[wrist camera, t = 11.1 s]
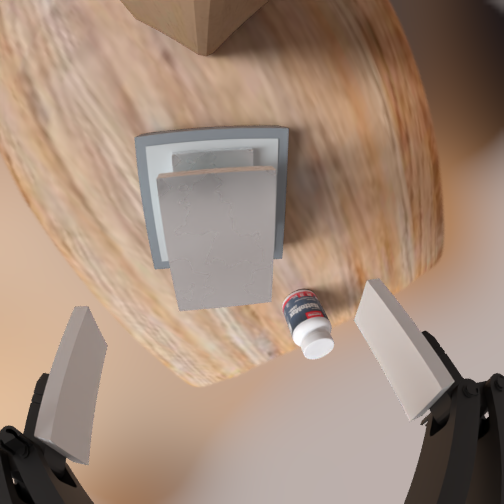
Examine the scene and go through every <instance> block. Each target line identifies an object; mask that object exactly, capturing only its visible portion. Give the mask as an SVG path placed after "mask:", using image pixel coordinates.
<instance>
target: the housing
mask: <svg viewBox="0 0 504 504" xmlns="http://www.w3.org/2000/svg"><path fill="white" fill-rule="evenodd" d="M172 167H173V172H170V173H161V174H159V175H158V177H157V178H156V182H157V190H158V197H159V205H160V212H161V218H162V225H163V231H164V237H165V243H166V248H167V254H168V259H169V265H170V270H171V275H172V280H173V285H174V289H175V294H176V298H177V303H178V307H179V311H186V310H198V309H210V308H220V307H230V306H240V305H249V304H257V303H266V302H271V298H272V278H273V255H274V230H275V200H276V169H275V168H274V167H272V166H253V149H252V148H251V147H241V148H221V149H206V150H194V151H183V152H174V153H172Z"/></svg>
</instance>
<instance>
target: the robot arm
mask: <svg viewBox="0 0 504 504" xmlns="http://www.w3.org/2000/svg"><path fill="white" fill-rule="evenodd" d="M354 321H355V323H356V324H357V325H358V328H359V329H360V331H361V333H362V335H363V336H364V338H365V340H366V341H367V343H368V345H369V347H370V349H371V350H372V352H373V354H374V355H375V357H376V359H377V361H378V363H379V364H380V366H381V368H382V370H383V372H384V374H385V375H386V377H387V379H388V381H389V383H390V385H391V386H392V388H393V390H394V392H395V394H396V396H397V398H398V400H399V401H400V403H401V405H402V407H403V409H404V411H405V413H406V415H407V417H408V419H409V421H412V420H414V419H416V418H418V417H420V416H422V415H423V414H424V413H425V412H426V411H427V410H428V409H430V411H431V413H430V414H429V415H428V416H427V417H425V418H424V420H422V422H421V425H423V424H424V423H425V422H427V421H428V422H427V424H426V425H425V426H427V427H426V432H425V437H424V441H423V445H422V449H421V453H420V457H419V461H418V464H417V467H416V471H415V474H414V477H413V480H412V483H411V486H410V489H409V492H408V495H407V497H406V500H405V503H404V504H504V376H503V375H501V374H498V373H496V374H493V376H492V377H491V378H490V379H489V380H488V381H484V382H479V383H476V382H475V381H473V380H471V379H464V378H463V377H462V376H461V375H460V373H459V372H458V370H457V369H456V367H455V366H454V364H453V363H452V362H451V360H450V359H449V357H448V356H447V354H445V351H444V350H443V349H442V347H440V344H439V343H438V342H437V340H436V339H435V338H434V337H433V336H432V335H431V334H430V333H428V332H427V331H423V332H421V331H420V330H419V329H418V327H417V326H416V324H415V323H414V322H413V320H412V319H411V318H410V317H409V315H408V314H407V313H406V311H405V310H404V309H403V307H402V306H401V305H400V303H399V302H398V301H397V300H396V298H395V297H394V296H393V295H392V293H391V292H390V291H389V290H388V288H387V287H386V286H385V285H384V283H383V282H382V281H381V280H380V279H379V278H378V279H371V280H367V282H366V285H365V288H364V292H363V295H362V298H361V301H360V304H359V307H358V310H357V313H356V316H355V319H354ZM106 350H107V343H106V342H105V340H104V338H103V336H102V334H101V332H100V330H99V328H98V326H97V324H96V322H95V320H94V318H93V316H92V313H91V311H90V309H89V307H88V306H80V307H79V306H78V307H75V308H74V310H73V312H72V315H71V317H70V319H69V322H68V324H67V327H66V329H65V332H64V334H63V337H62V339H61V342H60V345H59V348H58V350H57V353H56V356H55V359H54V362H53V365H52V368H51V371H50V374H46V373H43V374H42V376H41V377H40V379H39V380H38V381H37V383H36V387H35V390H34V395H33V397H32V403H31V404H30V408H29V412H28V416H27V420H26V425H25V429H24V433H23V434H22V433H21V432H20V431H18V430H17V429H16V428H14V427H13V426H5V427H4V428H3V429H2V430H1V431H0V504H94V503H93V502H92V501H91V499H90V498H89V496H88V495H87V493H86V492H85V490H84V489H83V488H82V486H81V485H80V483H79V482H78V480H77V478H76V477H75V475H74V474H73V472H72V471H71V469H70V467H69V466H68V464H67V463H66V458H68V459H69V460H71V461H73V462H76V463H80V464H85V465H89V454H90V442H91V434H92V425H93V418H94V412H95V405H96V399H97V394H98V388H99V382H100V378H101V373H102V368H103V363H104V358H105V355H106ZM486 412H488V413H489V417H488V418H487V419H486V418H485V416H484V414H486ZM12 478H14V481H15V483H13V480H12Z"/></svg>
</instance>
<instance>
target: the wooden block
mask: <svg viewBox="0 0 504 504" xmlns="http://www.w3.org/2000/svg"><path fill="white" fill-rule="evenodd" d="M120 1H121V2H122V3H123V4H124V5H125V7H126V8H127V9H128V10H129V11H130V12H131V14H132V15H133V16H134V17H135V18H136V19H137V20H139V21H141V22H143V23H145V24H147V25H149V26H151V27H153V28H155V29H156V30H158V31H160V32H162V33H164V34H165V35H167V36H169V37H171V38H172V39H174V40H176V41H177V42H179V43H181V44H182V45H184V46H186V47H187V48H189V49H191V50H192V51H194V52H195V53H197V54H198V55H203V56H208V55H210V54H212V53H214V52H215V51H216V49H217V48H218V47H219V46H220V45H221V44H222V43H223V42H224V41H225V40H226V39H227V38H228V37H229V36H230V35H231V34H232V33H233V32H234V31H235V30H236V29H237V28H239V27H240V26H241V25H242V24H243V23H244V22H245V21H246V20H247V19H248V18H249V17H251V16H252V15H253V14H254V13H255V12H256V11H257V10H259V9H260V8H261V7H262V6H263V5H264V4H266V3H267V2H268V0H120Z"/></svg>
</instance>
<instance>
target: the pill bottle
mask: <svg viewBox="0 0 504 504" xmlns="http://www.w3.org/2000/svg"><path fill="white" fill-rule="evenodd" d="M282 310H283V313H284V316H285V318H286V321H287V324H288V327H289V329H290V332H291V335H292V338H293V340H294V342H295V343H296V344H297V345H298V346H300V347H301V349H302V351H303V354H304V356H305V357H306V358H308V359H318V358H321V357H323V356H325V355H327V354H328V353H329V352H330V351H331V350H332V349H333V347H334V341H333V339H332V337H331V335H330V333H331V329H332V327H331V323H330V321H329V319H328V317H327V315H326V313H325V311H324V309H323V308H322V306H321V304H320V302H319V300H318V298H317V296H316V295H315V293H313V292H312V291H310V290H298V291H295V292H293V293H291V294H290V295H289V296H287V297H286V299H285V300H284V302H283V305H282Z"/></svg>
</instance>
